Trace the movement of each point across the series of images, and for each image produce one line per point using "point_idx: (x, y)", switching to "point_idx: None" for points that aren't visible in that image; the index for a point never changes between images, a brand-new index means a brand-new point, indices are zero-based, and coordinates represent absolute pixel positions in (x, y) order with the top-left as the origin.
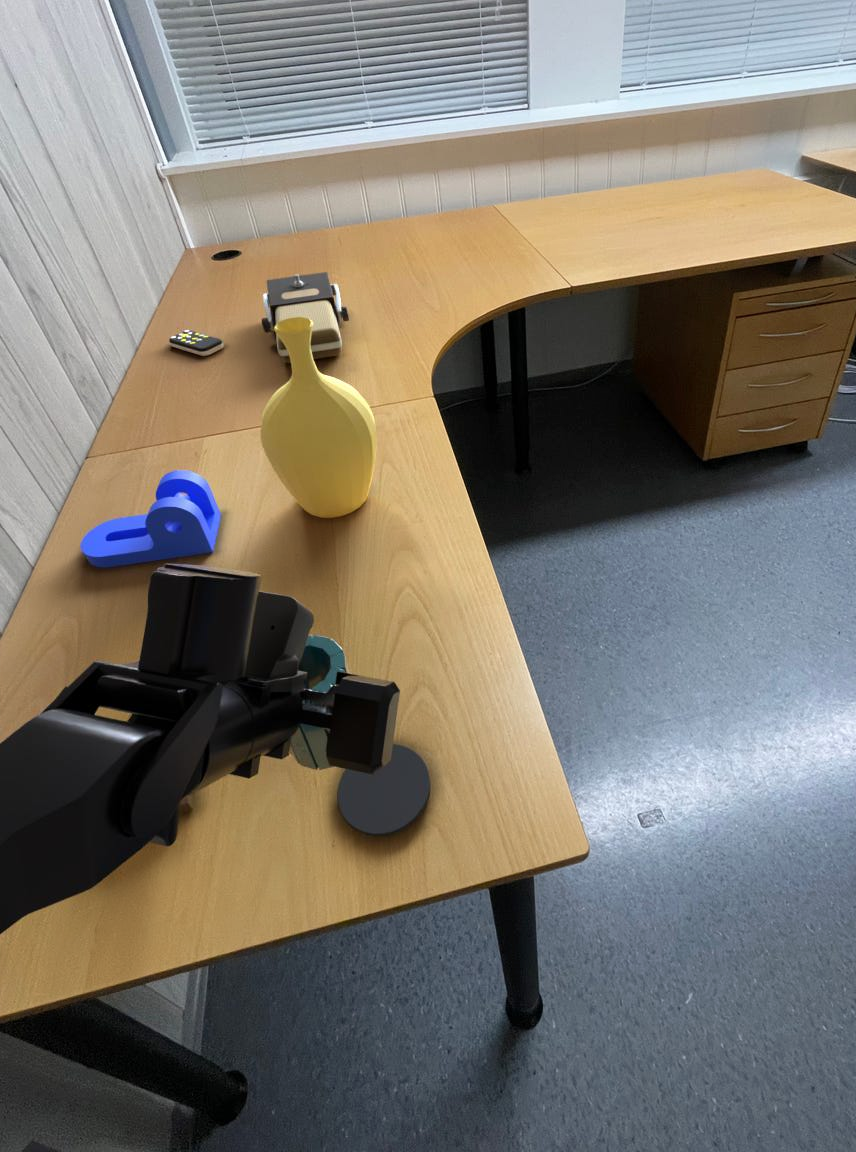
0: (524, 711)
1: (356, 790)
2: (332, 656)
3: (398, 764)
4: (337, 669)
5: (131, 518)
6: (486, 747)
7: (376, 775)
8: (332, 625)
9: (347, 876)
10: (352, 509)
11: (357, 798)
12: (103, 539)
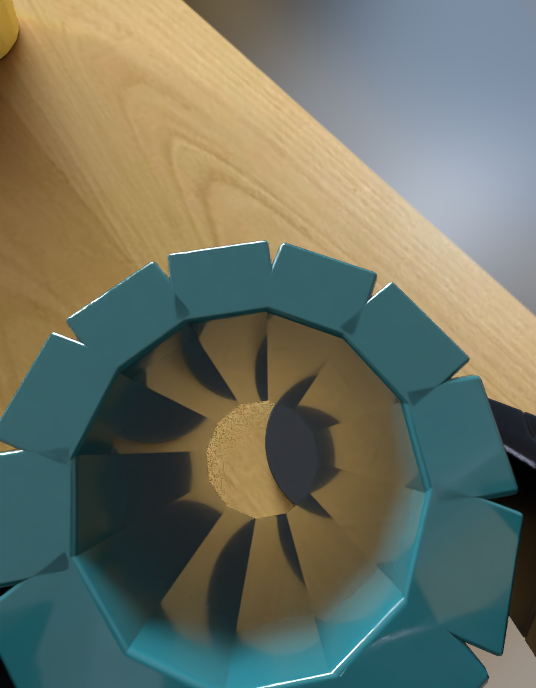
0: (449, 250)
1: (303, 467)
2: (355, 329)
3: None
4: (443, 390)
5: None
6: (433, 319)
7: None
8: (95, 237)
9: None
10: (5, 45)
11: (312, 478)
12: None
